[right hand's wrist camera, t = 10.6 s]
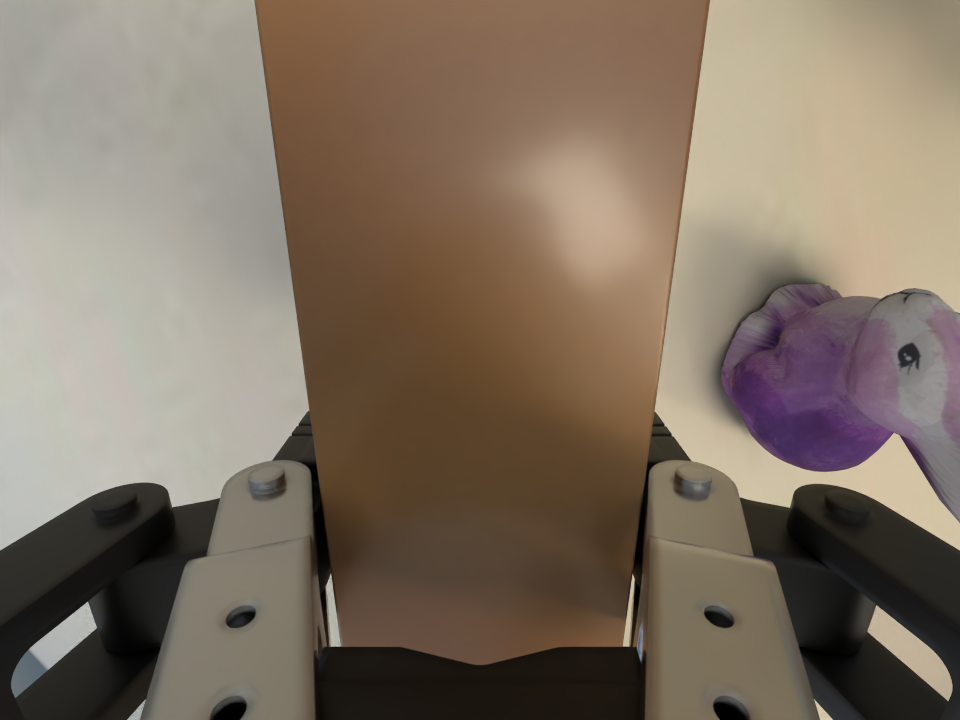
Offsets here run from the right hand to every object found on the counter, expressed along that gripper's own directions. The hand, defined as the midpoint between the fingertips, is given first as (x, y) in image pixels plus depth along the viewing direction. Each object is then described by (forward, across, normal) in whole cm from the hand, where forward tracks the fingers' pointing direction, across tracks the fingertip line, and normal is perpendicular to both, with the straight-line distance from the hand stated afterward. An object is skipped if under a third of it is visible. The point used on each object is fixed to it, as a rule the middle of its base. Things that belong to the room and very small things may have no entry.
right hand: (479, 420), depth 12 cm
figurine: (+19, -19, +5) cm, 27 cm away
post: (+4, 0, -21) cm, 21 cm away
